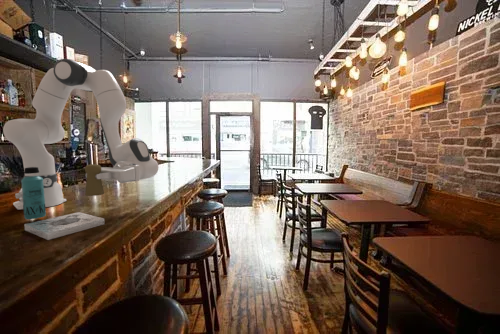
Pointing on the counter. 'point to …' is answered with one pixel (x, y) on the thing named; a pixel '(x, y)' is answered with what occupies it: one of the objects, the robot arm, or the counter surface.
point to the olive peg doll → (93, 181)
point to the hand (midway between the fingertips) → (91, 176)
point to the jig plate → (56, 229)
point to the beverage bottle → (33, 195)
